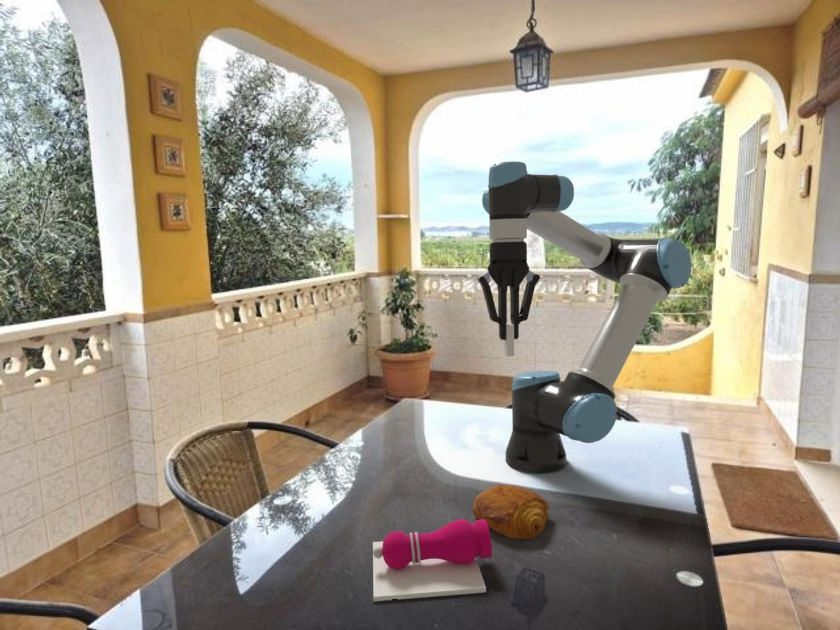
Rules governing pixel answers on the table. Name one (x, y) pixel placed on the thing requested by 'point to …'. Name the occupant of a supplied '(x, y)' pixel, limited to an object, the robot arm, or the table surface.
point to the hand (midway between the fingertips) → (509, 354)
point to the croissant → (512, 511)
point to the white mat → (425, 579)
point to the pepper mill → (438, 545)
